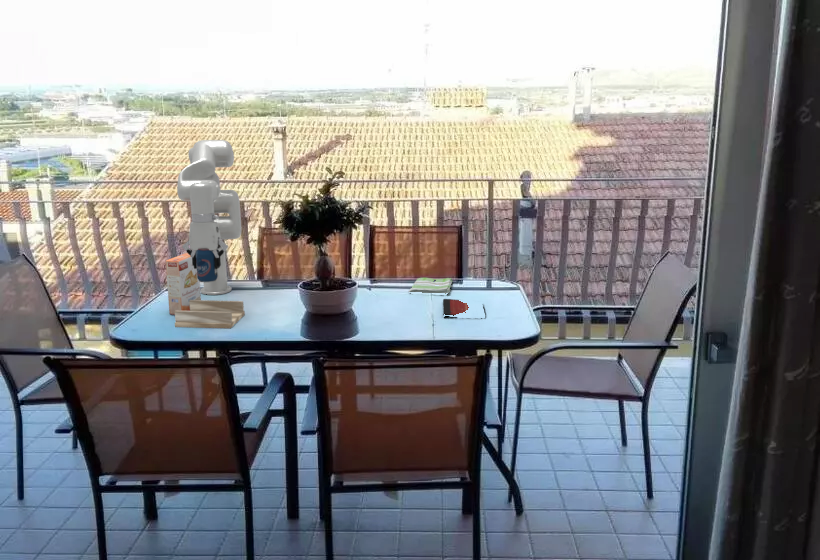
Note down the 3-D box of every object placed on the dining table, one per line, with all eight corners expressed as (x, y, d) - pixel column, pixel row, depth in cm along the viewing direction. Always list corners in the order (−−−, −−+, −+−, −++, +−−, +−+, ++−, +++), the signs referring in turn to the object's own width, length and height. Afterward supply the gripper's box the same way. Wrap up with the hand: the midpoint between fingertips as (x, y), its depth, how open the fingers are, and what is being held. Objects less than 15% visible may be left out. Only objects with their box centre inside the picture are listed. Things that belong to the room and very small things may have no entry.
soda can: (194, 282, 229) (191, 249, 226) (202, 277, 236) (200, 245, 233) (212, 283, 228) (210, 249, 225) (221, 278, 235) (218, 246, 232)
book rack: (192, 313, 244) (191, 299, 243) (244, 314, 243) (243, 300, 242) (175, 327, 229) (173, 312, 227) (230, 328, 228) (229, 313, 226)
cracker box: (183, 316, 241) (179, 261, 236) (169, 315, 242) (163, 260, 237) (202, 305, 254) (198, 253, 249) (188, 304, 256) (184, 252, 250)
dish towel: (407, 295, 272) (407, 287, 271) (415, 281, 294) (415, 274, 293) (448, 297, 269) (448, 289, 268) (453, 283, 291) (453, 275, 290)
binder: (443, 313, 239) (442, 298, 260) (442, 319, 240) (442, 303, 260) (486, 316, 239) (483, 300, 259) (486, 322, 240) (482, 306, 260)
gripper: (231, 217, 230) (234, 266, 234) (183, 216, 231) (187, 265, 235) (224, 220, 222) (227, 270, 227) (174, 219, 223) (178, 270, 228)
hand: (206, 267), depth 231 cm, fingers closed on soda can, 7 cm apart
